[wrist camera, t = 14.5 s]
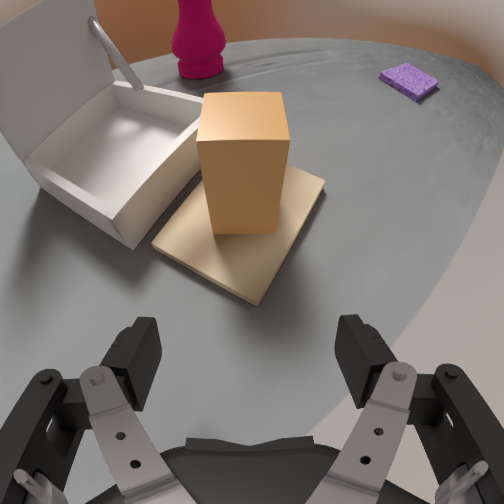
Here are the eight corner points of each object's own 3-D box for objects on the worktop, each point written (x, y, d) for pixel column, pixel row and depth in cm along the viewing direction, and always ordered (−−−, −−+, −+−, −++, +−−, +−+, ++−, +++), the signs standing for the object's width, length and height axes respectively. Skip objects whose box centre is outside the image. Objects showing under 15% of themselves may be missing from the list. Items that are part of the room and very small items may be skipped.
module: (213, 234, 21) (195, 141, 13) (215, 186, 23) (204, 93, 15) (274, 233, 21) (289, 140, 13) (271, 185, 23) (281, 92, 15)
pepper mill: (231, 60, 36) (229, -60, 18) (219, 82, 32) (213, -59, 15) (185, 59, 36) (174, -54, 18) (168, 81, 33) (148, -50, 15)
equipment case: (38, 185, 25) (-40, 57, 8) (117, 107, 30) (82, -19, 14) (133, 250, 21) (12, 28, 5) (226, 140, 27) (218, -46, 10)
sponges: (377, 81, 36) (380, 71, 34) (404, 69, 40) (407, 61, 38) (414, 104, 34) (418, 95, 32) (436, 88, 38) (439, 81, 36)
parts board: (154, 249, 22) (151, 242, 21) (234, 150, 26) (234, 143, 25) (257, 306, 20) (257, 302, 19) (322, 188, 25) (325, 180, 24)
